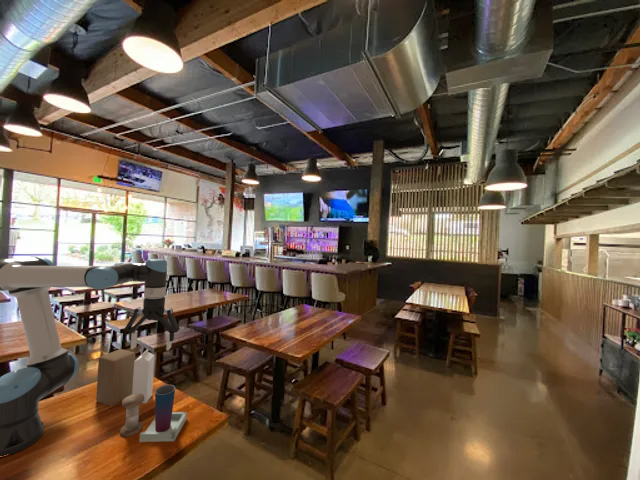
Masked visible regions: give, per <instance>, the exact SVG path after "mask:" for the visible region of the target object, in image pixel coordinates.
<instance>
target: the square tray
mask: <svg viewBox="0 0 640 480" xmlns="http://www.w3.org/2000/svg"><path fill="white" fill-rule="evenodd" d="M187 416H188V412H187V411H172V417H171V425H170V428H169V429H168V430H166V431H164V432H156V430H155V418H154V419H153V420H152V422H151V423H150V425H149V426H148V427H147V429H146V430H145V431H143V432H142V431H140V432H139V443H143V442H145V443H147V442H150V443H151V442H153V443H155V442H156V443H157V442H175V441H176V438H177V437H178V435H179V434H180V431H181V430H182V428H183V426H184V424H185V423H186V421H187V418H188V417H187Z"/></svg>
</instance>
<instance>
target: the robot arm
mask: <svg viewBox="0 0 640 480" xmlns="http://www.w3.org/2000/svg"><path fill="white" fill-rule="evenodd" d="M167 274H168V260H166V259H163V258H148V259H146V261H145V263H143V262H142V263H140V262H131V261H130V262H129V261H118V262H115V263H114V264H113V265H96V266H95V265H55V263H54V262H53V261H51V260H50V259H48V258H47V257H45V256H39V255H36V256H34V255H27V256H19V257H18V256H17V257H9V258H0V292H2V291H8V293H9V296H12V297H14V298H16V302H17V305H18V310H19V314H20V318H21V322H22V327H23V330H24V335H25V338H26V342H27V347H28V351H29V356H30V358H29V360H27V362H26V364H25V366H26V367H23V368H19V369H17V370H12V371H9V372H7V373H5V374H3V375H2V376H0V456H4V455H7V454H12V455H14V454H17V453H18V451H19V452H21V451H23V450H25V449H27V448H29V447H30V446H32V445H33V444H35V443H36V442H37V441H39V440H40V438H42V436H43V435H44V432H45V431H44V429H45V425H44V424H45V423H44V422H43V421H41V416H40V414H39V403H40V402H39V401H40V400H42V399H43V398H45V397H47V396H48V395H49V394H51V393H53V392H55V390H57V389H59V388H62V387H63V386H65V385H66V384H67V383H68V382H69V381H71V380H72V379H74V377H75V376H76V375H77V373H78V371H79V368H80V367H79V365H80V364H79V360H78V358H77V357H76V356H75V355H74V354H73V353H69V351H68V349H67V348H64V347H62V345H61V341H60V337H59V333H58V327H57V325H56V323H57V322H56V319H55V316H54V311H53V307H52V306H53V305H52V302H51V298H50V294H49V290H50V289H51V288H91V289H93V290H102V289H103V290H106V289H109V288H112V287H115V286H119V285H123V284H126V283H130V282H139V283H140V282H141V283H144V291H143V297H144V298H143V301H142V302H143V303H142V305H143V307H142V308H141V307H140V306H139V307H137V308H134V310H133V314H132V315H131V317H130V319H129V321H128V322H127V324H126V326H125V327H124V332H128V334H129V336H128V340H129V341H130V350H134V349H135V348H136V347H137V345H138V344H137V343H138V330H137V329H139V327H140V326H141V325H142V324H143V323H144V322H145V321H146V320H147V321H157V320H158V322H160V323H161V324H162V326H163V327H164V328H165V330H166V331H167V332H168V333H167V335H166V349H165V351H170V349H171V348H172V344H173V343H172V342H173V341H174V340H175V334H176V333H178V332H179V331H180V329H181V328H180V325H179V324H178V322H177V320H176V318H175V316H174V309H173V308H169V309H167V308H165V305H166V297H165V296H166V295H167V294H166V291H167V278H168V277H167ZM140 314H142V315H143V316H142V317H141V318H140V319H139V320H138V321H137V319H138V317H139V316H140ZM165 315H166V316H167V318H166V316H165ZM167 319H168V320H167ZM136 321H137V322H136ZM135 322H136V324H135ZM20 450H21V451H20ZM16 452H17V453H16ZM13 453H14V454H13Z"/></svg>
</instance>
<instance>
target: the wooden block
mask: <svg viewBox="0 0 640 480" xmlns="http://www.w3.org/2000/svg"><path fill="white" fill-rule="evenodd" d="M135 360H136V352H133V351H130V350H127V349H121V348H120V349H117V350H114V351H111V352H109V353H106V354H103V355H100V357H99V358H98V365H97V377H96V378H97V381H96V382H97V383H96V395H95V396H96V397H95V398H96V402H98V403H101V404H104V405H106V406H109V407H113V406H115V405H117V404H119V403H120V402H122V401H123V399H124V398H126V397H127V396H130V395H132V389H133V374H134V361H135Z"/></svg>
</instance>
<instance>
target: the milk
mask: <svg viewBox="0 0 640 480" xmlns="http://www.w3.org/2000/svg"><path fill="white" fill-rule="evenodd" d="M154 371H155V354H153V353H151V352H149V348H147V349H146V350H145V351H144V352H143V353H142V354H141V355H139V357H138V358H135V361H134V374H133V389H132V395H133V394H143V395H144V401H143V402H142V403H141V404H148V402H149V400H150V399H151V397H152V396H153V386H154V374H155V373H154Z"/></svg>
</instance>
